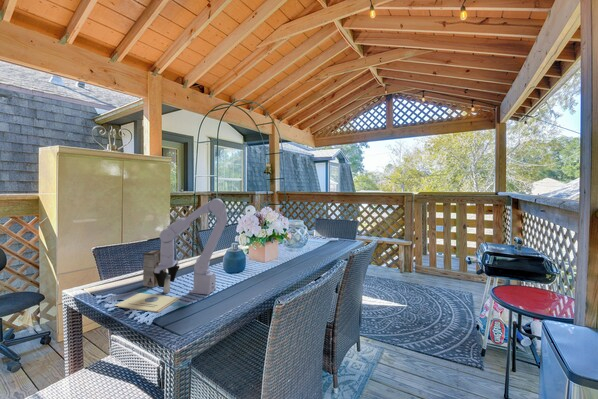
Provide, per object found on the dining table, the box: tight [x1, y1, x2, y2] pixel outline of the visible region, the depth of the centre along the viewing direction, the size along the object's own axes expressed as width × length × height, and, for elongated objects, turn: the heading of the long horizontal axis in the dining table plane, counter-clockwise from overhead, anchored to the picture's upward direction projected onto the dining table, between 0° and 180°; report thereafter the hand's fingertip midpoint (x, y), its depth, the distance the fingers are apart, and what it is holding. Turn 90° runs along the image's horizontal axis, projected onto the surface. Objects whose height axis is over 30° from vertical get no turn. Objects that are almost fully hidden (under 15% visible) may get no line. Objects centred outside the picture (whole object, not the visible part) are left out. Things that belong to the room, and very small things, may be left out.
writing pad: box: [113, 292, 181, 313], centre depth 120 cm, size 20×14×1 cm
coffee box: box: [142, 249, 167, 288], centre depth 141 cm, size 9×6×16 cm
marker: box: [162, 273, 171, 294], centre depth 132 cm, size 3×3×8 cm
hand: (166, 284), depth 132 cm, fingers open, 7 cm apart
